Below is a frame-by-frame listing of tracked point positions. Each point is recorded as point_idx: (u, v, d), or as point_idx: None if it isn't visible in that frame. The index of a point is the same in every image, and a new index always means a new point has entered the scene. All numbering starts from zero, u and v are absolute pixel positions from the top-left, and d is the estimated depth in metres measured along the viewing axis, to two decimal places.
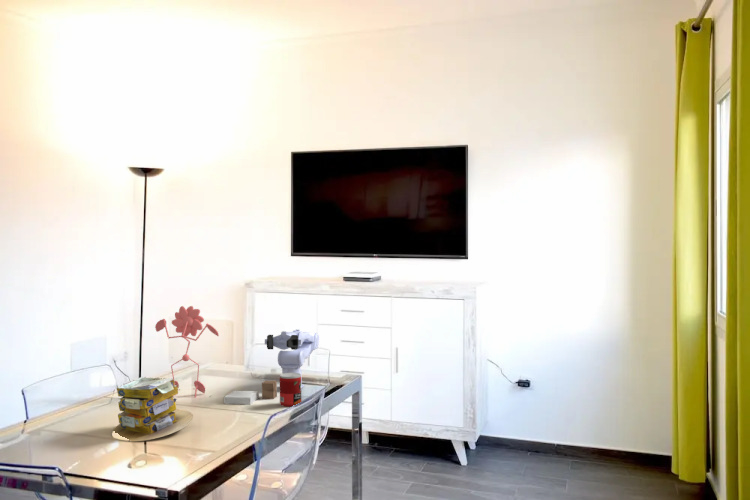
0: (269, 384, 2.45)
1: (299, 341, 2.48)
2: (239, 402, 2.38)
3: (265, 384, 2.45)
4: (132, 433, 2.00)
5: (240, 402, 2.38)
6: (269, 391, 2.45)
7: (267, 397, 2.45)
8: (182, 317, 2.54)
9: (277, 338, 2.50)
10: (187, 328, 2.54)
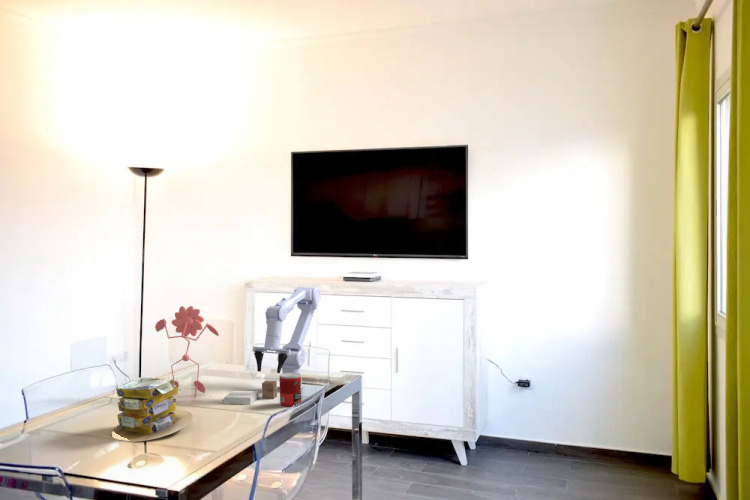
0: (269, 384, 2.45)
1: (287, 354, 2.46)
2: (239, 402, 2.38)
3: (265, 384, 2.45)
4: (131, 433, 2.00)
5: (240, 402, 2.38)
6: (269, 391, 2.45)
7: (267, 397, 2.45)
8: (182, 317, 2.54)
9: (264, 350, 2.47)
10: (187, 328, 2.54)
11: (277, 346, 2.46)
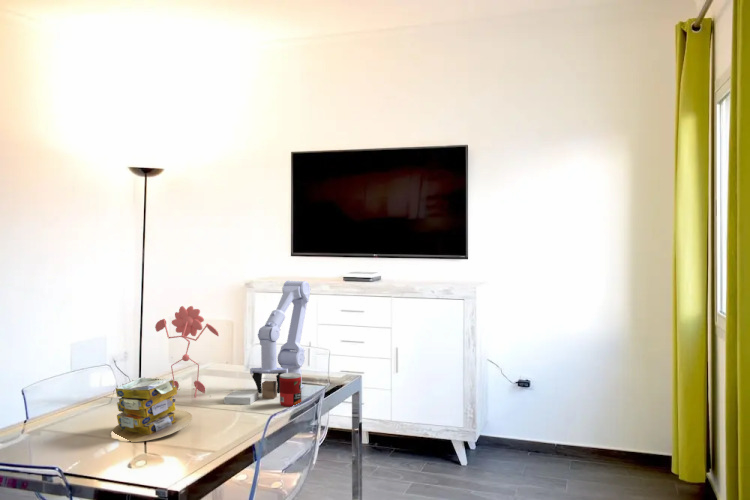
0: (269, 384, 2.45)
1: None
2: (239, 402, 2.38)
3: (265, 384, 2.45)
4: (131, 434, 2.00)
5: (240, 402, 2.38)
6: (269, 391, 2.45)
7: (267, 397, 2.45)
8: (182, 317, 2.54)
9: (262, 371, 2.46)
10: (187, 328, 2.54)
11: (274, 367, 2.46)
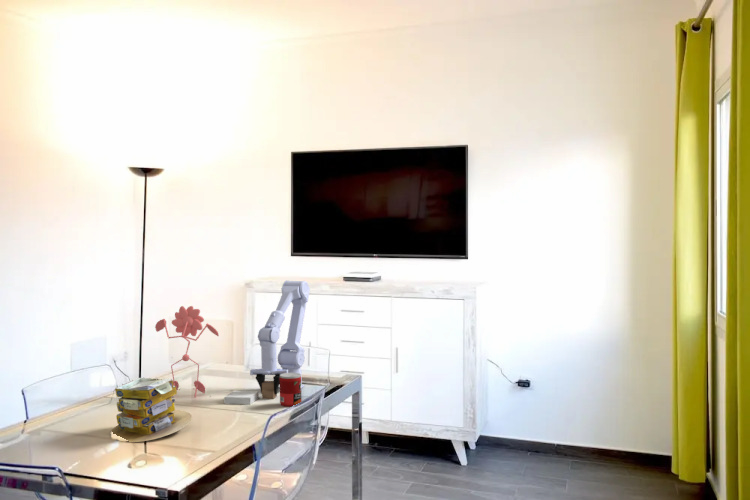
0: (269, 384, 2.45)
1: None
2: (239, 402, 2.38)
3: (265, 384, 2.45)
4: (130, 434, 1.99)
5: (240, 402, 2.38)
6: (269, 391, 2.45)
7: (267, 397, 2.45)
8: (182, 317, 2.54)
9: (262, 373, 2.46)
10: (187, 328, 2.54)
11: (274, 368, 2.46)
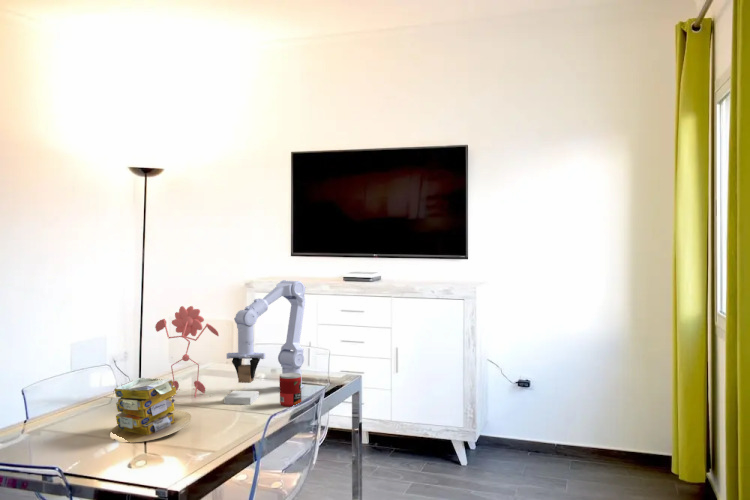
0: (245, 368, 2.41)
1: None
2: (239, 402, 2.38)
3: (241, 368, 2.41)
4: (130, 434, 1.99)
5: (240, 402, 2.38)
6: (245, 375, 2.41)
7: (243, 381, 2.41)
8: (182, 317, 2.54)
9: (238, 356, 2.42)
10: (187, 328, 2.54)
11: (251, 352, 2.42)
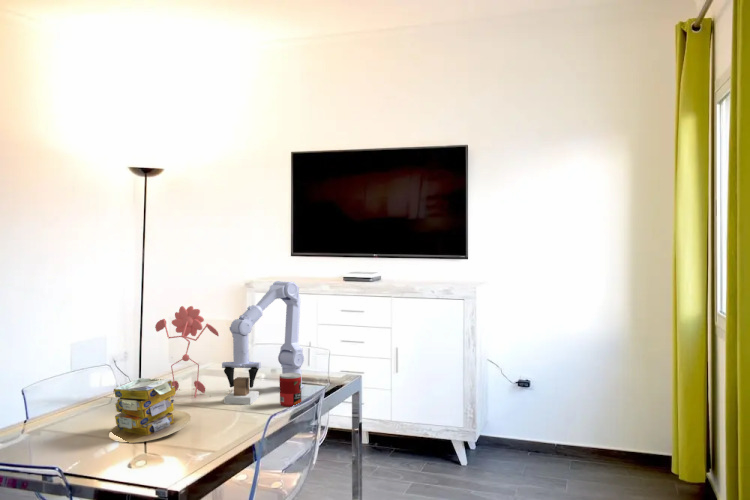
0: (241, 380, 2.40)
1: None
2: (239, 402, 2.38)
3: (237, 380, 2.40)
4: (129, 434, 1.99)
5: (240, 402, 2.38)
6: (241, 388, 2.40)
7: (239, 394, 2.40)
8: (182, 317, 2.54)
9: (234, 365, 2.42)
10: (187, 328, 2.54)
11: (246, 361, 2.41)
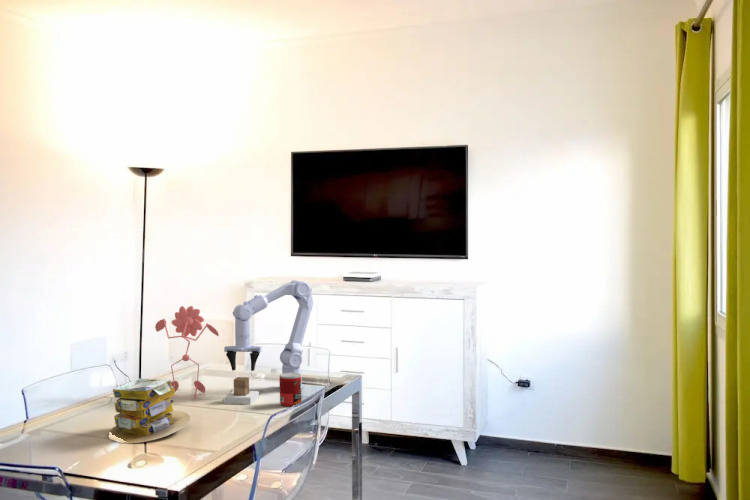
0: (241, 380, 2.40)
1: None
2: (239, 402, 2.38)
3: (237, 380, 2.40)
4: (128, 435, 1.98)
5: (240, 402, 2.38)
6: (241, 388, 2.40)
7: (239, 394, 2.40)
8: (182, 317, 2.54)
9: (235, 349, 2.50)
10: (187, 328, 2.54)
11: (248, 345, 2.49)
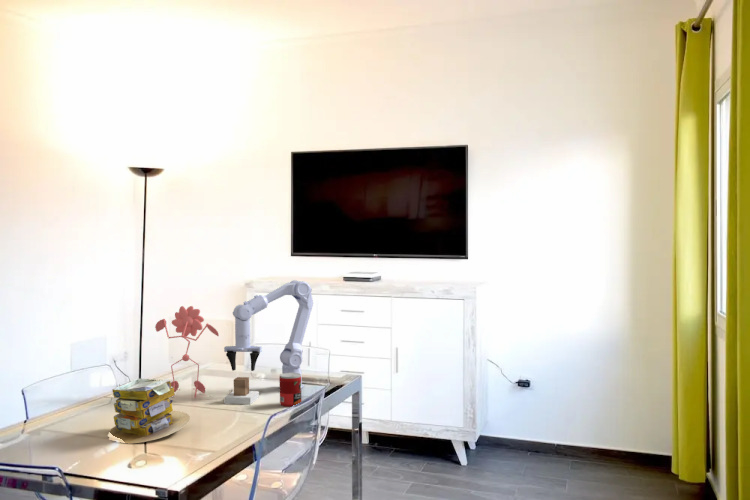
0: (241, 380, 2.40)
1: None
2: (239, 402, 2.38)
3: (237, 380, 2.40)
4: (128, 435, 1.98)
5: (240, 402, 2.38)
6: (241, 388, 2.40)
7: (239, 394, 2.40)
8: (182, 317, 2.54)
9: (235, 349, 2.50)
10: (187, 328, 2.54)
11: (248, 345, 2.49)
